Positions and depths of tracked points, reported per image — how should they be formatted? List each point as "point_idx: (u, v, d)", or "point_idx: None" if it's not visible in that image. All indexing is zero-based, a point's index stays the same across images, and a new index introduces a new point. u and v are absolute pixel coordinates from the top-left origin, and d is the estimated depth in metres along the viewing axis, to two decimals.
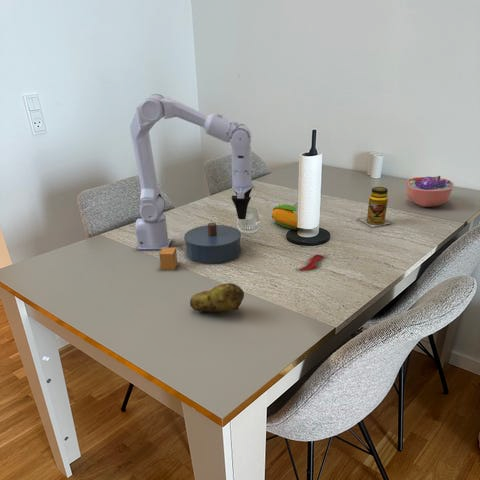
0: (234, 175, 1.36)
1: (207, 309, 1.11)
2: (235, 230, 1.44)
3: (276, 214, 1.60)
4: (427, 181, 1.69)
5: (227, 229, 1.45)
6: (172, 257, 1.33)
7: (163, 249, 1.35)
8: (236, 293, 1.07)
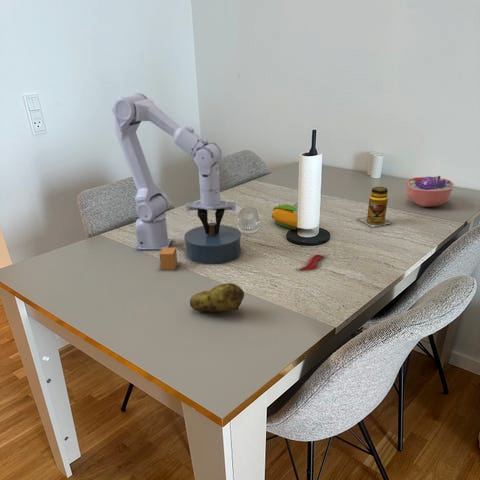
0: None
1: (207, 309, 1.11)
2: (235, 230, 1.44)
3: (276, 214, 1.60)
4: (427, 181, 1.69)
5: (227, 229, 1.45)
6: (172, 257, 1.33)
7: (163, 249, 1.35)
8: (236, 293, 1.07)
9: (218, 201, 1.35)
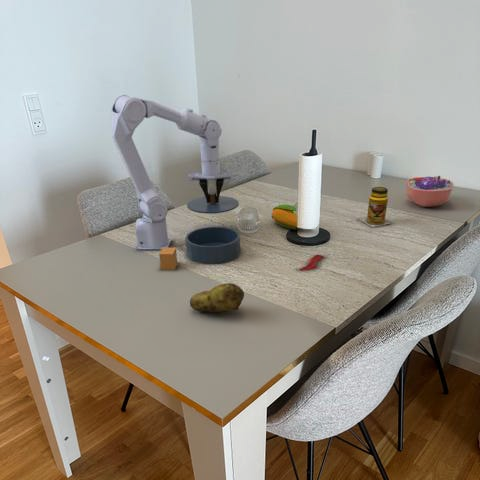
0: None
1: (207, 309, 1.11)
2: (233, 199, 1.58)
3: (276, 214, 1.60)
4: (427, 181, 1.69)
5: (225, 199, 1.58)
6: (172, 257, 1.33)
7: (163, 249, 1.35)
8: (236, 293, 1.07)
9: (218, 171, 1.48)
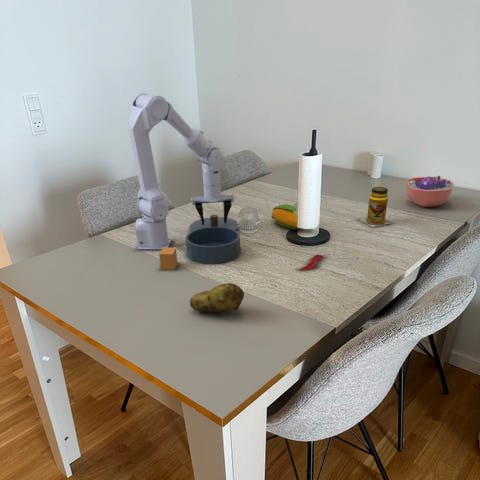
0: None
1: (207, 309, 1.11)
2: (232, 220, 1.66)
3: (276, 214, 1.60)
4: (427, 181, 1.69)
5: None
6: (172, 257, 1.33)
7: (163, 249, 1.35)
8: (236, 293, 1.07)
9: (220, 194, 1.55)
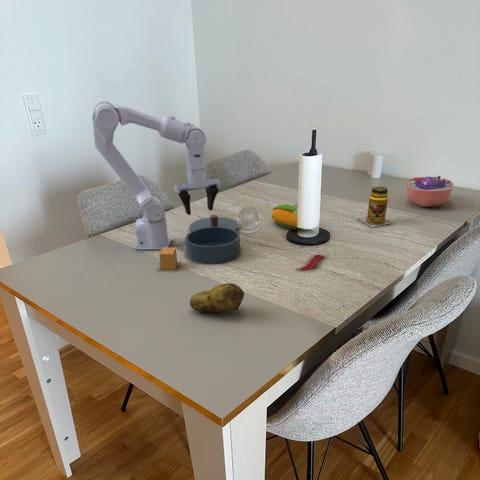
0: (205, 172, 1.42)
1: (207, 309, 1.11)
2: (232, 220, 1.66)
3: (276, 214, 1.60)
4: (427, 181, 1.69)
5: (224, 220, 1.66)
6: (172, 257, 1.33)
7: (163, 249, 1.35)
8: (236, 293, 1.07)
9: (188, 180, 1.44)
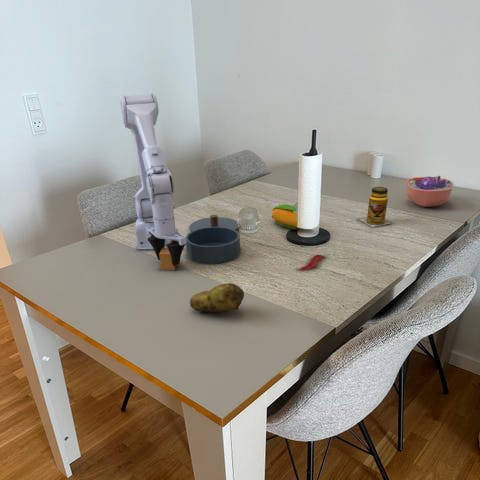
0: (163, 224, 1.27)
1: (207, 309, 1.11)
2: (232, 220, 1.66)
3: (276, 214, 1.60)
4: (427, 181, 1.69)
5: (224, 220, 1.66)
6: None
7: (163, 249, 1.35)
8: (236, 293, 1.07)
9: None
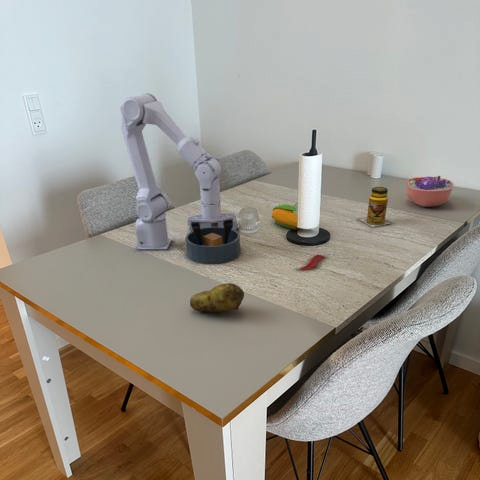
0: (218, 207, 1.35)
1: (207, 309, 1.11)
2: None
3: (276, 214, 1.60)
4: (427, 181, 1.69)
5: None
6: (222, 240, 1.42)
7: (207, 236, 1.41)
8: (236, 293, 1.07)
9: None
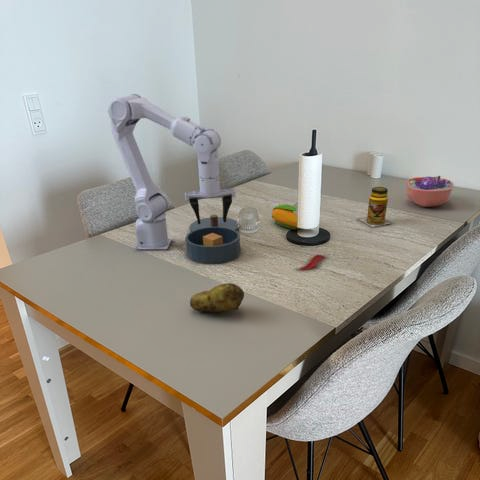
0: (217, 181, 1.31)
1: (207, 309, 1.11)
2: (232, 220, 1.66)
3: (276, 214, 1.60)
4: (427, 181, 1.69)
5: None
6: (222, 240, 1.42)
7: (207, 236, 1.41)
8: (236, 293, 1.07)
9: None
